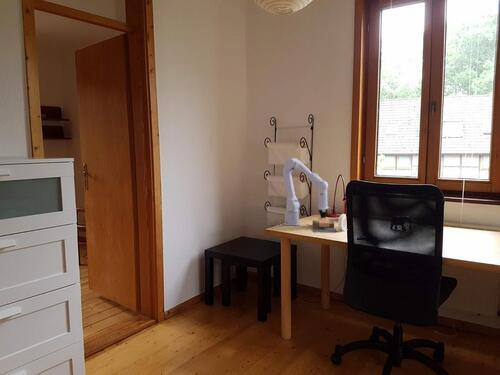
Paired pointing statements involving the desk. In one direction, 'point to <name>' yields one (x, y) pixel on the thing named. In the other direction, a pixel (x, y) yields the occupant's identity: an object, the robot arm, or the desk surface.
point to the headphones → (342, 222)
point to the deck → (316, 225)
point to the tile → (323, 222)
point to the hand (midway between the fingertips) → (323, 221)
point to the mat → (324, 230)
